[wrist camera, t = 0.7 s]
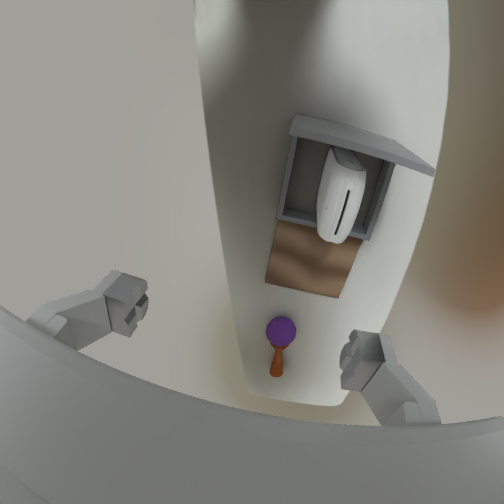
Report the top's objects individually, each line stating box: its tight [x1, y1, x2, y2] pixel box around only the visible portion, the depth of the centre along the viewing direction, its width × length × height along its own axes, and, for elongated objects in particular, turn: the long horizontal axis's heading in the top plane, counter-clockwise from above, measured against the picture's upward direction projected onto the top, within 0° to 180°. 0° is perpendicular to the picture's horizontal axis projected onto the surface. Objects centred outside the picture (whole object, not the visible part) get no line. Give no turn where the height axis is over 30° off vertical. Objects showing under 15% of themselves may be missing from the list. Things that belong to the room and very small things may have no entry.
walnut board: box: [265, 219, 362, 298], centre depth 48 cm, size 13×14×1 cm
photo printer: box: [317, 146, 366, 244], centre depth 34 cm, size 10×4×12 cm, turn 172°
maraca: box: [266, 317, 296, 377], centre depth 59 cm, size 6×6×20 cm
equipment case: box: [276, 114, 435, 241], centre depth 33 cm, size 15×15×15 cm
